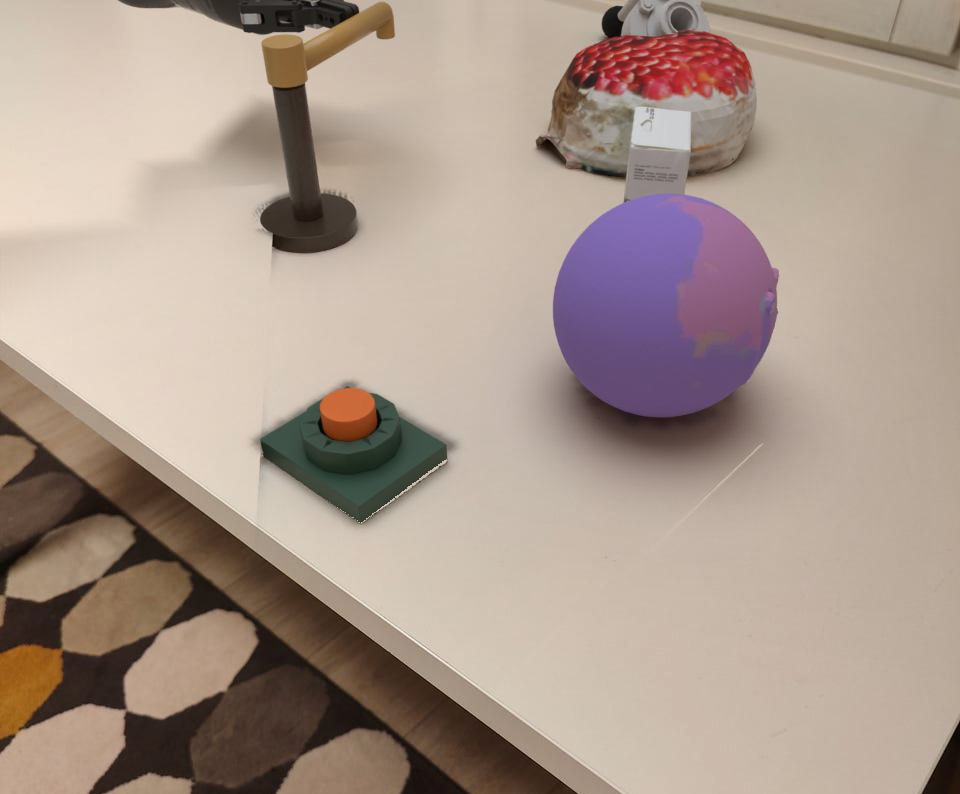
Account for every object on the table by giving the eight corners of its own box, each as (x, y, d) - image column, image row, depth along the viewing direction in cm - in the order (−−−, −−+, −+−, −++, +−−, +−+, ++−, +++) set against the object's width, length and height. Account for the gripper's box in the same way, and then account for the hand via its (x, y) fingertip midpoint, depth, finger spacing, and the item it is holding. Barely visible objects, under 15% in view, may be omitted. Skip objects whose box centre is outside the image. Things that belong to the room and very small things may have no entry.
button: (311, 426, 63) (308, 405, 62) (352, 401, 65) (349, 380, 64) (348, 449, 61) (345, 428, 60) (388, 423, 63) (386, 402, 62)
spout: (295, 104, 79) (287, 50, 76) (262, 98, 81) (252, 44, 78) (405, 36, 92) (402, -14, 89) (375, 31, 93) (371, -18, 90)
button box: (263, 457, 65) (254, 418, 63) (350, 403, 70) (344, 365, 67) (361, 525, 60) (355, 485, 58) (447, 463, 65) (445, 423, 62)
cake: (653, 79, 116) (662, -9, 110) (794, 149, 101) (815, 52, 94) (491, 119, 108) (491, 26, 101) (618, 203, 92) (628, 100, 86)
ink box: (673, 281, 81) (691, 148, 73) (615, 277, 82) (627, 145, 74) (675, 234, 88) (692, 106, 80) (621, 230, 88) (633, 103, 80)
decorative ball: (752, 476, 63) (799, 279, 53) (531, 444, 66) (536, 251, 56) (758, 350, 74) (799, 165, 64) (568, 327, 77) (577, 147, 66)
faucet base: (260, 256, 86) (231, 107, 77) (264, 211, 93) (237, 69, 83) (359, 248, 87) (342, 100, 78) (356, 203, 93) (340, 62, 84)
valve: (657, 124, 130) (645, 14, 129) (727, 63, 110) (712, -67, 110) (587, 127, 127) (573, 15, 127) (645, 66, 108) (630, -67, 108)
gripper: (174, -39, 91) (294, -7, 82) (280, -68, 98) (400, -41, 89) (192, 43, 96) (306, 81, 87) (291, 9, 103) (406, 42, 94)
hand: (354, 19), depth 88 cm, fingers closed
